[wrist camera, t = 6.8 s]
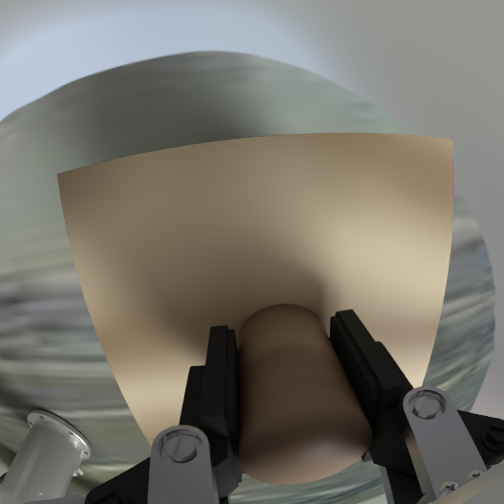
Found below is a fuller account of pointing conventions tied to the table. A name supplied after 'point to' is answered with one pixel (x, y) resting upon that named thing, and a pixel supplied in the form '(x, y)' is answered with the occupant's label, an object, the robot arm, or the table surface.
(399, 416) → the robot arm
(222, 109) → the table surface
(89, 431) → the table surface
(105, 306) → the lid
